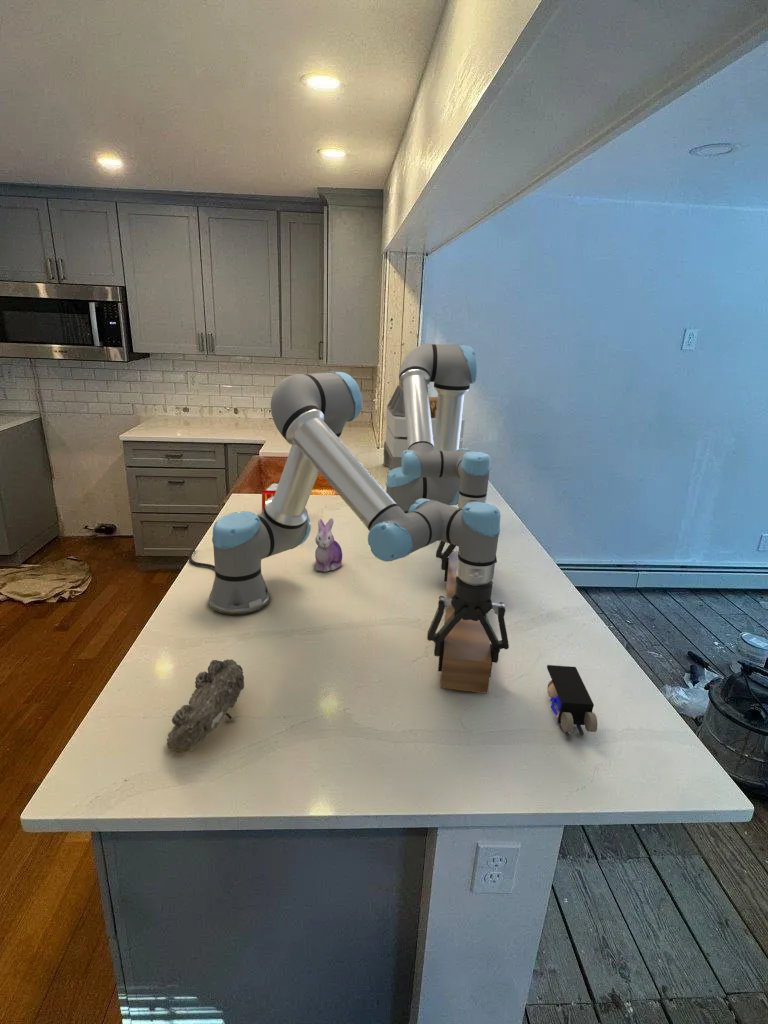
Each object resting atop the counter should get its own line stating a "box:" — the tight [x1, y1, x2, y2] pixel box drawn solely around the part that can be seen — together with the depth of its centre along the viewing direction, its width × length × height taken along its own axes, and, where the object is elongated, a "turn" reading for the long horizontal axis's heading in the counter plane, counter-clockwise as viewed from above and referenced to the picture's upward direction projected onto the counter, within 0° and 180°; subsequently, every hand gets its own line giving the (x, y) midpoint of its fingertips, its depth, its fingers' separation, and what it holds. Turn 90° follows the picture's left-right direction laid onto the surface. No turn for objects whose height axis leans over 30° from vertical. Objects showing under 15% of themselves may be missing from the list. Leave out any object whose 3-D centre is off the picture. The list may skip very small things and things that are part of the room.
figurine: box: [314, 517, 343, 572], centre depth 170 cm, size 9×10×15 cm
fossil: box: [166, 658, 245, 754], centre depth 106 cm, size 22×10×15 cm
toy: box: [261, 483, 279, 513], centre depth 210 cm, size 12×13×30 cm
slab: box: [440, 550, 493, 694], centre depth 142 cm, size 55×10×7 cm, turn 173°
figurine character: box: [546, 664, 598, 737], centre depth 111 cm, size 7×8×15 cm
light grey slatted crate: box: [383, 384, 465, 471], centre depth 268 cm, size 34×33×41 cm
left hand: (464, 670), depth 123 cm, fingers closed on slab, 10 cm apart
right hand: (463, 581), depth 163 cm, fingers closed on slab, 10 cm apart
